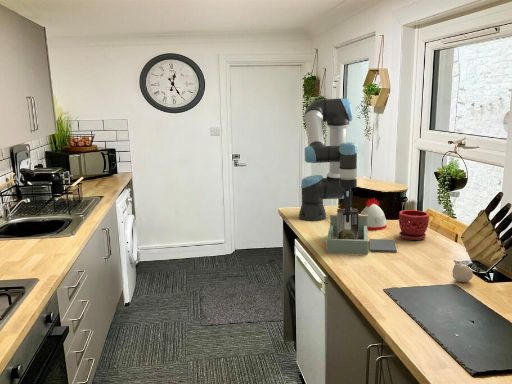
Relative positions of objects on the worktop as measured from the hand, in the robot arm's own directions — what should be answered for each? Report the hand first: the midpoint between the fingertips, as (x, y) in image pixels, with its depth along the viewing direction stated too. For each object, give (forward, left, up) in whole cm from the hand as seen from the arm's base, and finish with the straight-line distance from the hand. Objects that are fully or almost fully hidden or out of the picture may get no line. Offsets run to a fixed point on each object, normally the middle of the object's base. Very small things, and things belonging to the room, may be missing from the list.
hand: (348, 225), depth 202 cm
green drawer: (0, 0, -9) cm, 9 cm away
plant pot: (-14, +29, -9) cm, 34 cm away
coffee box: (0, 0, -9) cm, 9 cm away
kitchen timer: (-31, +11, -10) cm, 35 cm away
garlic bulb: (+37, +40, -9) cm, 55 cm away
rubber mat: (+1, +15, -9) cm, 18 cm away
